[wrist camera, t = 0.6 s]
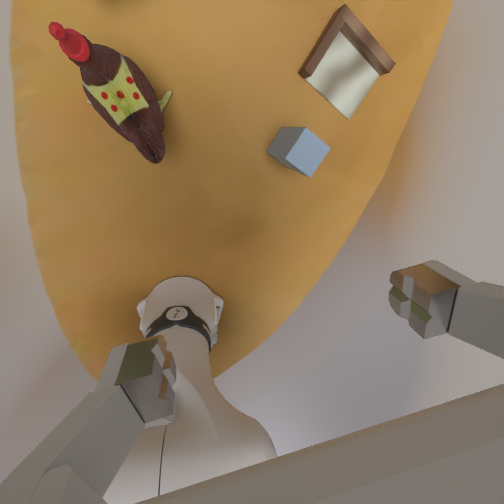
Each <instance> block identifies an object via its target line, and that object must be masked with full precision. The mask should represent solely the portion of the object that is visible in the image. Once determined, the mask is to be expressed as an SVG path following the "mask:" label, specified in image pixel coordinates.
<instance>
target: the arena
mask: <svg viewBox="0 0 504 504" xmlns="http://www.w3.org/2000/svg"><path fill="white" fill-rule="evenodd" d="M395 64H396V63H395V62H394V61H393V60H392V59H391V57H390V56H389V55H388V54H387V53H386V51H385V50H384V49H383V48H382V47H381V46H380V44H379V43H378V42H377V41H376V40H375V38H374V37H373V36H372V35H371V34H370V32H369V31H368V30H367V29H366V28H365V27H364V25H363V24H362V23H361V22H360V21H359V19H358V18H357V17H356V16H355V15H354V13H353V12H352V11H351V10H350V9H349V8H348V6H347V5H346V4H344V5H343V6H342V7H340V8H339V9H338V10H337V11H336V12H335V13H334V15H333V17H332V18H331V20H330V21H329V23H328V25H327V26H326V28H325V30H324V31H323V33H322V34H321V36H320V38H319V39H318V41H317V43H316V44H315V46H314V48H313V49H312V51H311V52H310V54H309V56H308V57H307V59H306V61H305V62H304V64H303V66H302V67H301V69H300V70H299V72H298V73H299V74H300V75H301V76H302V77H303V78H304V79H305V80H306V81H307V82H308V83H309V84H310V85H311V86H312V87H313V88H315V89H316V90H317V91H318V92H319V93H320V94H321V95H322V96H323V97H324V98H325V99H326V100H327V101H328V102H329V103H330V104H332V105H333V106H334V107H335V108H336V109H337V110H338V111H339V112H340V113H341V114H342V115H343V116H344V117H345V118H346V119H348V120H349V118H350V117H351V116H352V114H353V113H354V111H355V110H356V108H357V107H358V105H359V104H360V103H361V101H362V100H363V98H364V97H365V95H366V94H367V93H368V91H369V90H370V88H371V87H372V85H373V84H374V83H375V81H376V80H377V78H378V77H379V75H382V74H386V73H389V72H390V71H391V70H392V68H393V67H394V65H395Z"/></svg>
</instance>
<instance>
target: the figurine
mask: <svg viewBox="0 0 504 504" xmlns="http://www.w3.org/2000/svg"><path fill="white" fill-rule="evenodd" d="M49 32H50V34H51V35H52V36H53V37H54V38H55V39H56V40H59V45H60V47H61V49H62V51H63V52H64V53H65V54H66V55H67V56H68V57H69V59H70V60H71V61H73V62H74V63H75V64H76V65H78V66H79V67H80V71H81V76H82V80H83V88H84V91H85V93H86V95H87V97H88V99H89V100H88V101H87V103H88V104H91V105H93V107H94V109H95V110H96V111H97V112H98V113H99V114H100V115H101V116H102V117H103V118H104V119H105V121H106V122H107V123H108V124H109V125H110V126H111V127H112V128H113V129H114V130H115V131H116V132H118V133H119V134H120V135H121V136H123V137H124V138H125V139H127V140H128V141H130V142H132V143H134V145H135V146H136V148H137V149H138V151H140V153H141V154H142V155H143V156H144V157H145V158H146V159H147V160H149V161H150V162H152V163H155V164H157V163H160V162H161V161H162V159H163V157H164V154H165V144H164V141H163V137H162V134H161V133H162V131H163V128H164V123H163V116H162V110H163V108H164V107H165V105H166V104H167V102H168V100H169V99H170V97H171V94H172V90H171V89H170V90H168V91H167V92H166V93H165V95H164V97H163V98H162V100H160V101H158V100H157V97H156V94H155V92H154V89H153V88H152V86H151V84H150V83H149V81H148V79H147V78H146V77H145V75H144V74H143V72H142V71H141V70H140V69H139V68H138V66H137V65H136V64H135V63H134V62H133V61H132V60H131V59H129V58H128V57H126V56H124V55H122V54H120V53H118V52H117V51H115V50H113V49H112V48H109V47H107V46H103V45H100V44H92V43H91V42H90V41H89V40H88V39H87V38H86V37H85V36H83V35H81V34H80V33H79V32H77V31H75V30H73V29H68V28H67V29H64V28H63V26H62V25H61V24H59V23H57V22H51V23H50V25H49Z"/></svg>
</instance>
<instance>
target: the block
mask: <svg viewBox="0 0 504 504" xmlns="http://www.w3.org/2000/svg"><path fill="white" fill-rule="evenodd" d="M330 149H331V148H330V147H329V146H328V145H327V144H325V143H324V142H323V141H322V140H321V139H319V138H318V137H317V136H316V135H315V134H314V133H312V132H311V131H310V130H309V129H308V128H306V127H281V129H280V130H279V132H278V133H277V135H276V137H275V138H274V140H273V141H272V143H271V145H270V146H269V148H268V149H267V151H266V153H268V154H269V155H271V156H272V157H273V158H275V159H276V160H277V161H279V162H280V163H281V164H283V165H284V166H285V167H287V168H289V169H292V170H294V171H296V172H299V173H301V174H303V175H305V176H308V177H311V176H312V174H313V173H314V172H315V170H316V169H317V167H318V166H319V164H320V163H321V162H322V160H323V159H324V157H325V156H326V155H327V153H328V152H329V150H330Z"/></svg>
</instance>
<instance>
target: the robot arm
mask: <svg viewBox="0 0 504 504" xmlns="http://www.w3.org/2000/svg"><path fill="white" fill-rule="evenodd" d="M390 282H391V284H392V285H393V287H392V288H391V290H390V291H389V302H390V305H391V307H392V309H393V310H394V312H395V313H396V314H397V315H398V316H400V317H402V318H405V319H407V320H409V326H410V327H411V328H412V329H413V330H414V331H416V332H417V333H418V334H419V335H420V336H421V337H422V338H423V339H427V338H430V337H434V336H437V335H442V334H445V333H448V334H449V335H451V336H453V337H456V338H458V339H460V340H462V341H465V342H467V343H469V344H471V345H474V346H476V347H478V348H480V349H483V350H485V351H487V352H489V353H492V354H494V355H496V356H498V357H501V358H503V359H504V286H501V285H496V284H490V283H486V282H479V283H477V282H475V281H473V280H471V279H469V278H468V277H466V276H464V275H462V274H461V273H459V272H457V271H455V270H453V269H451V268H449V267H448V266H446V265H444V264H442V263H440V262H438V261H434V260H431V261H427V262H424V263H421V264H418V265H415V266H411V267H408V268H404V269H400V270H397V271H394V272H392V274H391V276H390ZM223 304H224V300H223V299H222V298H221V297H220V296H218V295H216V294H214V293H212V291H211V290H210V289H209V288H208V287H207V286H206V285H205V284H204V283H202V282H201V281H199V280H197V279H194V278H190V277H173V278H169V279H167V280H164V281H162V282H161V283H159V284H158V285H157V286H156V287H155V288H154V289H153V290H152V291H151V293H150V294H149V295H148V297H146V298H144V299H143V300H141V301H140V302H139V303H138V304H137V311H138V313H139V316H140V318H141V323H140V330H142V333H143V335H144V339H141V340H137V341H133V342H130V343H125V344H122V345H118V346H115V347H114V348H112V349H111V352H110V354H109V357H108V359H107V362H106V364H105V367H104V369H103V372H102V374H101V377H100V379H99V382H98V384H97V387H96V390H95V392H92V393H89V394H88V395H87V396H86V397H85V398H84V399H83V400H82V401H81V402H80V403H79V404H78V405H77V406H76V407H75V408H74V409H73V410H72V411H71V412H70V413H69V415H67V416H66V417H65V418H64V419H63V420H62V422H60V423H59V425H57V427H56V428H55V429H54V430H53V431H52V432H51V433H50V434H49V435H48V436H47V437H46V438H45V439H44V440H43V441H42V442H41V443H40V444H39V445H38V446H37V447H36V448H35V449H34V450H33V451H32V452H31V453H30V454H29V455H28V456H27V457H26V458H25V459H24V460H23V461H22V462H21V463H20V464H19V465H18V466H17V467H16V468H15V469H14V470H13V471H12V472H11V473H10V474H9V475H8V476H7V477H6V479H4V480H3V481H2V482H1V484H0V504H504V384H501V385H498V386H495V387H492V388H489V389H486V390H483V391H480V392H477V393H474V394H471V395H468V396H464V397H461V398H458V399H455V400H452V401H449V402H446V403H443V404H440V405H437V406H434V407H431V408H428V409H424V410H421V411H418V412H415V413H412V414H409V415H406V416H403V417H400V418H397V419H394V420H390V421H388V422H384V423H381V424H378V425H375V426H372V427H369V428H366V429H363V430H360V431H356V432H353V433H350V434H347V435H344V436H341V437H338V438H335V439H332V440H329V441H326V442H322V443H319V444H317V445H313V446H310V447H307V448H304V449H301V450H298V451H295V452H292V453H289V454H285V455H282V456H279V457H277V454H276V450H275V447H274V444H273V442H272V440H271V438H270V436H269V434H268V433H267V431H266V430H265V429H264V427H263V426H262V425H261V424H260V423H259V422H258V421H257V420H256V419H254V418H252V417H249V416H247V415H245V414H244V413H242V412H240V411H239V410H237V409H236V408H234V407H233V406H232V405H231V404H230V403H229V402H228V401H227V400H226V399H225V398H224V397H223V396H222V395H221V394H220V392H219V391H218V389H217V388H216V386H215V384H214V381H213V378H212V373H211V366H210V358H209V354H210V351H211V348H212V346H213V344H216V343H217V334H216V332H217V330H218V323H219V319H220V316H221V312H222V308H223ZM216 306H219V307H216ZM160 418H164V419H167V420H169V421H171V422H172V423H170V424H168V425H163V426H156V427H149V428H144V427H145V423H148V422H151V421H154V420H157V419H160Z"/></svg>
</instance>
